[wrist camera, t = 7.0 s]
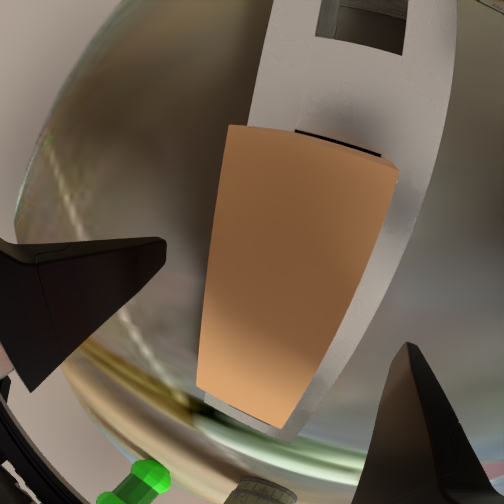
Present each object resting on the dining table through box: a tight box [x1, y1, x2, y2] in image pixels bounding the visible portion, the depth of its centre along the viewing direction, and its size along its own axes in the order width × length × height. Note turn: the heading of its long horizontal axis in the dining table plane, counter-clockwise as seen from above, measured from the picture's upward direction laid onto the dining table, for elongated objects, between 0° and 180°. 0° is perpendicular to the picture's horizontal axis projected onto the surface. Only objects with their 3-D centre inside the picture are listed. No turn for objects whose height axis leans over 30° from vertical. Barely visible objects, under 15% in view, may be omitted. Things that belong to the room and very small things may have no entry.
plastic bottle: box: [96, 459, 171, 504], centre depth 37 cm, size 10×10×25 cm
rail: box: [204, 0, 457, 444], centre depth 12 cm, size 7×27×3 cm, turn 168°
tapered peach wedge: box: [196, 124, 400, 429], centre depth 11 cm, size 10×4×6 cm, turn 168°
